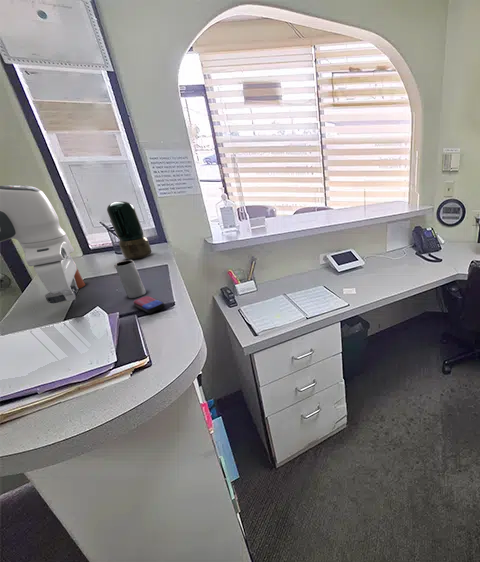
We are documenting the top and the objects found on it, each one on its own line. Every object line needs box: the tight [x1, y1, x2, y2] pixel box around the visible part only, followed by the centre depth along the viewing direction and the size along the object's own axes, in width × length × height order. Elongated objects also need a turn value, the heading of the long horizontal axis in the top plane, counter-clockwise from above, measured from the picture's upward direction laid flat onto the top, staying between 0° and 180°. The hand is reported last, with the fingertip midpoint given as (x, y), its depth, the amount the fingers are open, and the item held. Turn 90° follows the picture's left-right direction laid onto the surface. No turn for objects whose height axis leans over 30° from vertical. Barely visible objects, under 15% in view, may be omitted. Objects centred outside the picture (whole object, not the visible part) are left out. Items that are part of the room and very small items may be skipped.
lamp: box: [106, 200, 153, 260], centre depth 121 cm, size 10×10×22 cm
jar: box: [74, 261, 86, 290], centre depth 98 cm, size 6×6×10 cm
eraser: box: [133, 295, 165, 315], centre depth 84 cm, size 11×4×2 cm, turn 56°
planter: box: [114, 259, 147, 299], centre depth 90 cm, size 4×4×10 cm
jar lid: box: [44, 287, 78, 304], centre depth 85 cm, size 6×6×2 cm
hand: (73, 295), depth 87 cm, fingers closed on jar lid, 5 cm apart
